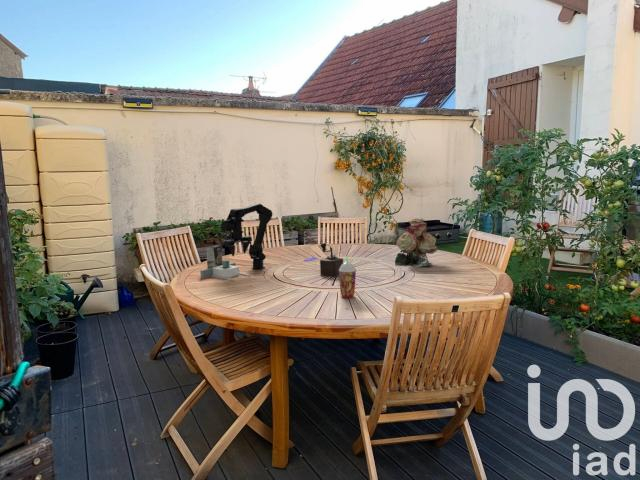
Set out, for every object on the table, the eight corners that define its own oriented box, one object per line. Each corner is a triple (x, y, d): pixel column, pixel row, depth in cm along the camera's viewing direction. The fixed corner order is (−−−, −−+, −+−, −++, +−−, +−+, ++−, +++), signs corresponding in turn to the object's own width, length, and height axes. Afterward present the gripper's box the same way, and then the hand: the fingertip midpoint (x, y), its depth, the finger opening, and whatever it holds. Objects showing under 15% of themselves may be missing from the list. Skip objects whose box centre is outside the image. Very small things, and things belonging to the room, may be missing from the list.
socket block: (226, 272, 272) (226, 264, 271) (239, 274, 265) (238, 266, 265) (213, 276, 263) (212, 267, 262) (225, 278, 257) (225, 270, 256)
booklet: (332, 265, 290) (332, 264, 290) (303, 261, 305) (303, 260, 305) (342, 261, 300) (342, 260, 300) (313, 258, 315) (313, 257, 315)
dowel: (226, 272, 267) (226, 259, 266) (231, 273, 264) (230, 260, 263) (221, 274, 264) (220, 261, 262) (226, 274, 261) (225, 261, 260)
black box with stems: (344, 273, 265) (344, 244, 262) (334, 277, 256) (334, 246, 253) (323, 270, 273) (322, 242, 271) (312, 274, 264) (312, 244, 262)
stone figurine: (392, 267, 280) (393, 220, 275) (401, 258, 307) (402, 215, 302) (433, 269, 270) (434, 221, 266) (439, 260, 297) (440, 216, 293)
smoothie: (338, 294, 219) (337, 255, 216) (354, 294, 220) (354, 254, 217) (340, 299, 211) (339, 258, 208) (357, 298, 212) (357, 258, 209)
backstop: (233, 270, 279) (233, 262, 278) (257, 274, 267) (257, 266, 266) (200, 278, 258) (200, 270, 258) (225, 283, 246) (224, 274, 245)
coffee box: (216, 273, 272) (215, 247, 269) (207, 272, 274) (205, 247, 271) (223, 269, 281) (222, 245, 278) (214, 269, 282) (213, 244, 280)
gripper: (239, 226, 278) (241, 250, 281) (216, 231, 263) (218, 256, 266) (251, 227, 271) (253, 252, 274) (228, 232, 257) (230, 258, 259)
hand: (238, 254), depth 269 cm, fingers open, 9 cm apart
